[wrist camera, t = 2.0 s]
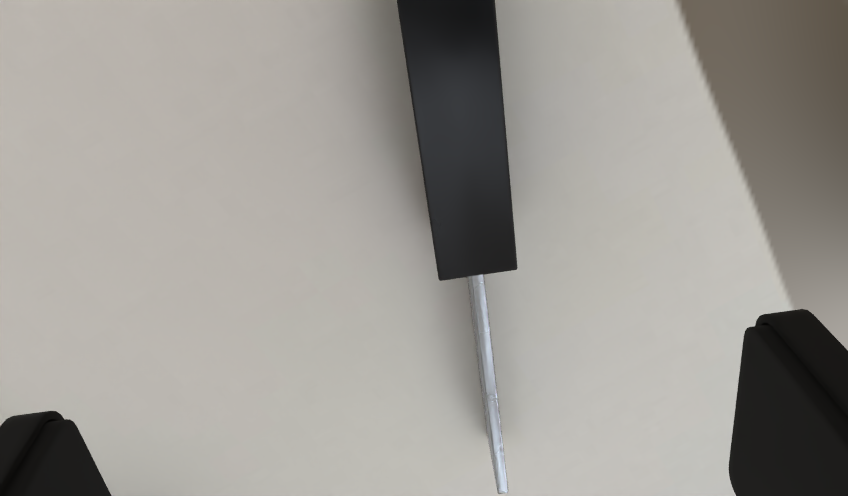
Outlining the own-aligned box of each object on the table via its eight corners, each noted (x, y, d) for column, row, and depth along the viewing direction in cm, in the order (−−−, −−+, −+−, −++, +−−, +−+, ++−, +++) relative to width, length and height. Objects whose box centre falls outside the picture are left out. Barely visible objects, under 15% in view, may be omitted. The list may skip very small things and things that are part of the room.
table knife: (390, -50, 20) (391, -34, 17) (474, -63, 20) (490, -49, 17) (463, 440, 29) (473, 507, 26) (521, 432, 29) (536, 497, 26)
